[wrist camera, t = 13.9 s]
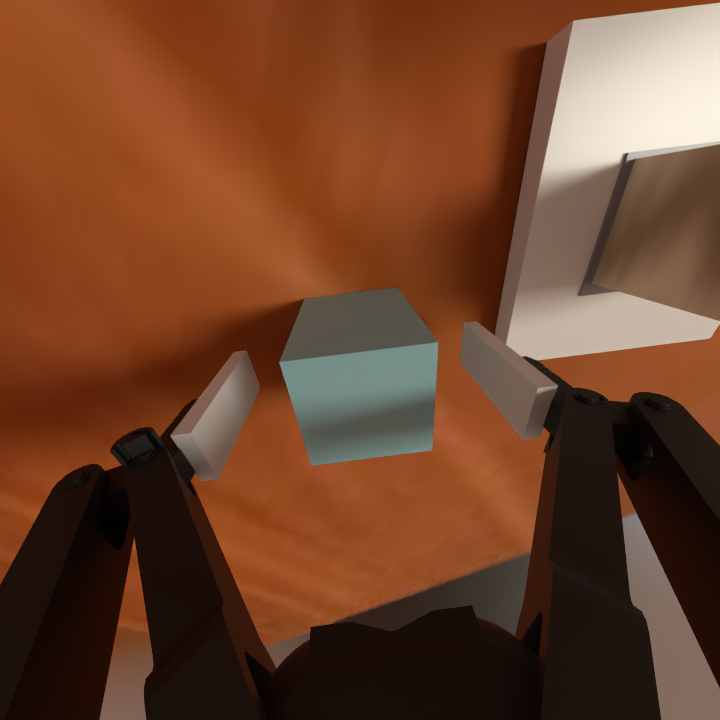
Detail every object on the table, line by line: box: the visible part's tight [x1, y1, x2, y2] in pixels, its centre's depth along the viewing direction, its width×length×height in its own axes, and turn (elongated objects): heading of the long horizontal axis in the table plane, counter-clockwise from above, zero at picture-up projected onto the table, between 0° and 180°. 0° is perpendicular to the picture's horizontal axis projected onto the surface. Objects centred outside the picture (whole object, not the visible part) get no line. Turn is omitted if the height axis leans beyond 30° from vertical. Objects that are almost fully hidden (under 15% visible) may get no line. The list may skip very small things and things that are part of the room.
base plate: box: [495, 3, 720, 360], centre depth 15 cm, size 16×15×2 cm
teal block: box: [279, 287, 438, 466], centre depth 15 cm, size 6×6×8 cm
